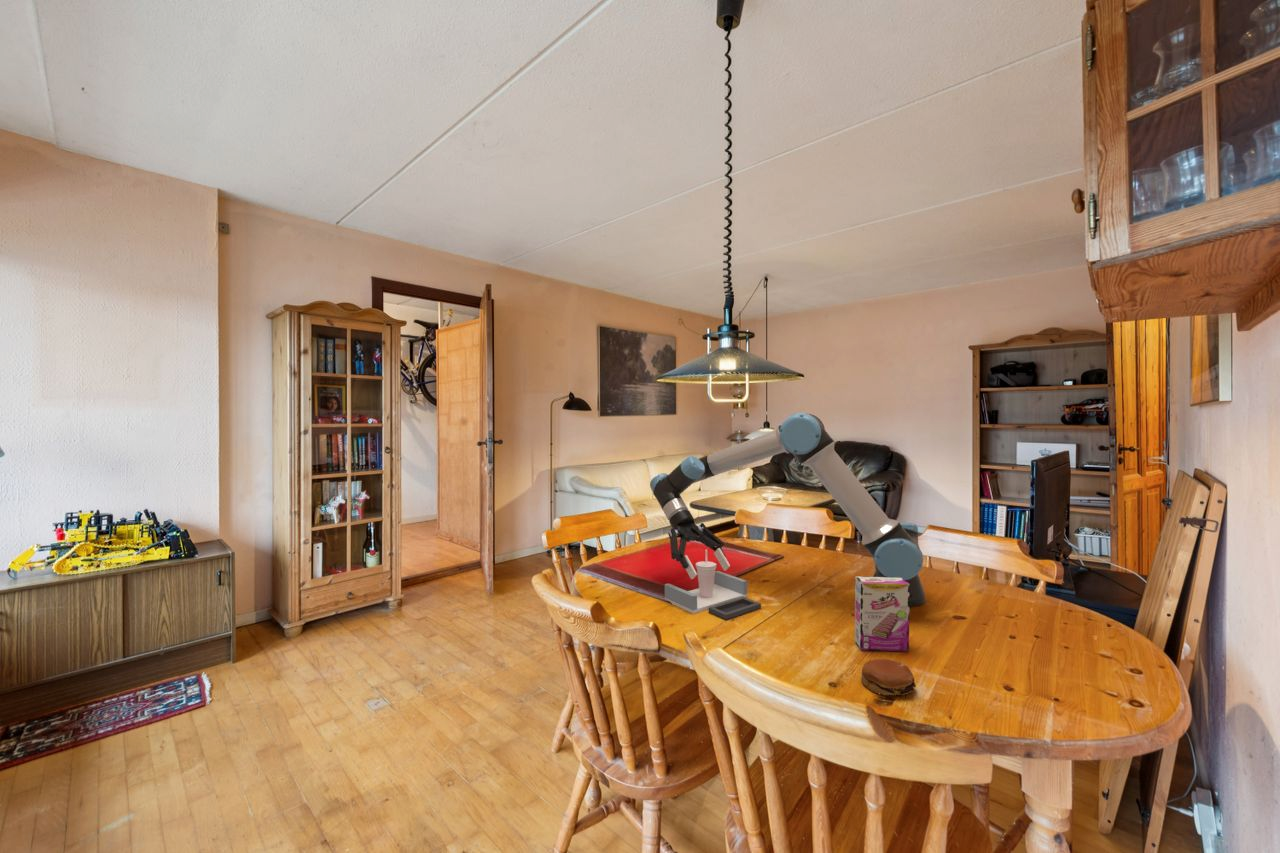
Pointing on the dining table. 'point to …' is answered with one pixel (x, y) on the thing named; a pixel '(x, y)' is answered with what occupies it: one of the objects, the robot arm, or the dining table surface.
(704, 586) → the smoothie
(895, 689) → the burger
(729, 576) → the walled channel
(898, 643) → the candy bar box
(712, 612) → the tray
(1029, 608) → the dining table surface
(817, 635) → the dining table surface
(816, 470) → the robot arm
